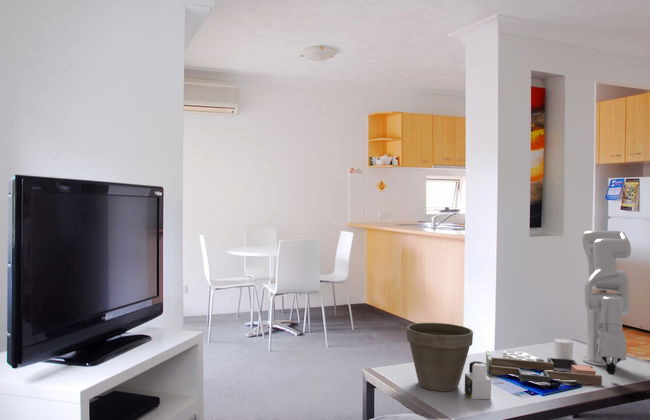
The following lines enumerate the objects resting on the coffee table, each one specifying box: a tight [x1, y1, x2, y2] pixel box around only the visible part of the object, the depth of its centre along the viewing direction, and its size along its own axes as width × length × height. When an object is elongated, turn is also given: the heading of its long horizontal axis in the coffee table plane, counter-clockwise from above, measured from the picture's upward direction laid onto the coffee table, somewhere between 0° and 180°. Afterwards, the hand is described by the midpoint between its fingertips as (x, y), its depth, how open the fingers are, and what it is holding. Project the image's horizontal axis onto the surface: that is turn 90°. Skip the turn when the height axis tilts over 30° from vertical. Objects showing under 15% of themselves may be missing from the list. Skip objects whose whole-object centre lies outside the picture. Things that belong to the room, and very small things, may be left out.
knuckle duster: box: [502, 350, 546, 362], centre depth 229 cm, size 3×18×15 cm
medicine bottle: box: [464, 360, 492, 401], centre depth 184 cm, size 7×7×12 cm
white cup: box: [553, 338, 574, 360], centre depth 229 cm, size 8×8×10 cm
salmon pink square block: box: [570, 364, 597, 375], centre depth 207 cm, size 7×7×4 cm
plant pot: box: [406, 322, 474, 392], centre depth 195 cm, size 25×25×22 cm
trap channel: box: [485, 350, 603, 386], centre depth 211 cm, size 30×42×6 cm
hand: (610, 373), depth 204 cm, fingers closed
